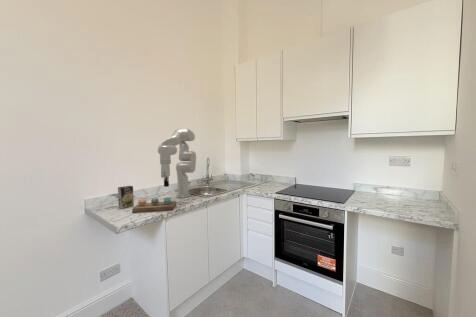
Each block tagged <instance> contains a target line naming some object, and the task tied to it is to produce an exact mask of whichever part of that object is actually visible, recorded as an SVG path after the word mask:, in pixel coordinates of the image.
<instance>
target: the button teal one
mask: <svg viewBox="0 0 476 317" xmlns="http://www.w3.org/2000/svg"><path fill="white" fill-rule="evenodd" d="M171 198H172V197H165V198H163V202H164V203H170V202H172V199H171Z"/></svg>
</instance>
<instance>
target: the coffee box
mask: <svg viewBox="0 0 476 317" xmlns="http://www.w3.org/2000/svg"><path fill="white" fill-rule="evenodd" d="M117 197H118V200H117V201H118V208H119V209H121V210H124V209H128V208H132V207H133V208H134V207H135V203H134V202H135V201H134V200H135V198H134V186H133V185H126V186H125V185H124V186H118V187H117Z"/></svg>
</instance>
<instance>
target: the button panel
mask: <svg viewBox="0 0 476 317" xmlns="http://www.w3.org/2000/svg"><path fill="white" fill-rule="evenodd" d="M176 202H177V201H176V200H175V201H173V200H171V202H170V203H164V201H162V202H161V201H160V202H159V203H157V204H151V202H146V204H143V205H139V203H137V204H136V205H134V206H133V208H132V209H131V212H132V214H140V213H141V214H142V213H143V214H144V213H154V212H169V211H172V212H173V211H174V209H175V208H176V206H177V203H176Z"/></svg>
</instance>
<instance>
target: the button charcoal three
mask: <svg viewBox="0 0 476 317" xmlns="http://www.w3.org/2000/svg"><path fill="white" fill-rule="evenodd" d="M150 203H151V204H157V203H159V198H158V197H156V198H151V199H150Z"/></svg>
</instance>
